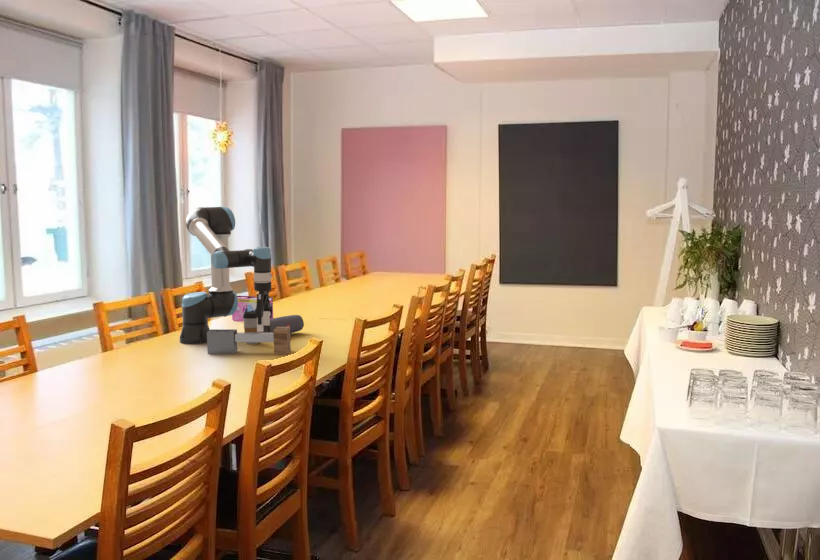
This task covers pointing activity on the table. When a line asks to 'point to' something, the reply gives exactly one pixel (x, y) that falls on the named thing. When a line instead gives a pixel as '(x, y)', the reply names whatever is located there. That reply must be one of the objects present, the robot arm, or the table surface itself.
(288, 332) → the socket
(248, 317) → the coffee cup
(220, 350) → the grey rectangular block
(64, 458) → the table surface
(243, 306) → the gum box
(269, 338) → the orange-tipped grey stick
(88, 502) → the table surface
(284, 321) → the bluetooth speaker
